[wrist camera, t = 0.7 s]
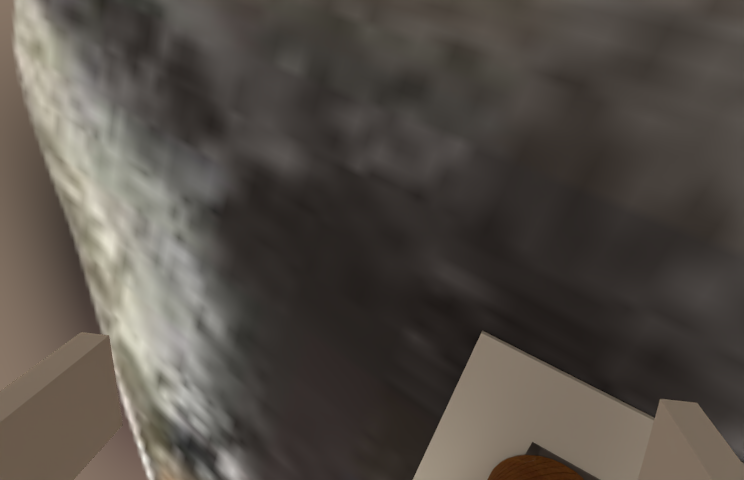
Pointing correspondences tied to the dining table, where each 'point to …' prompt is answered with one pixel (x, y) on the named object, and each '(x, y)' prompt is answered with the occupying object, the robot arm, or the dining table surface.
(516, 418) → the mat
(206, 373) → the dining table surface
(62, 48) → the dining table surface
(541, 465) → the disposable coffee cup
